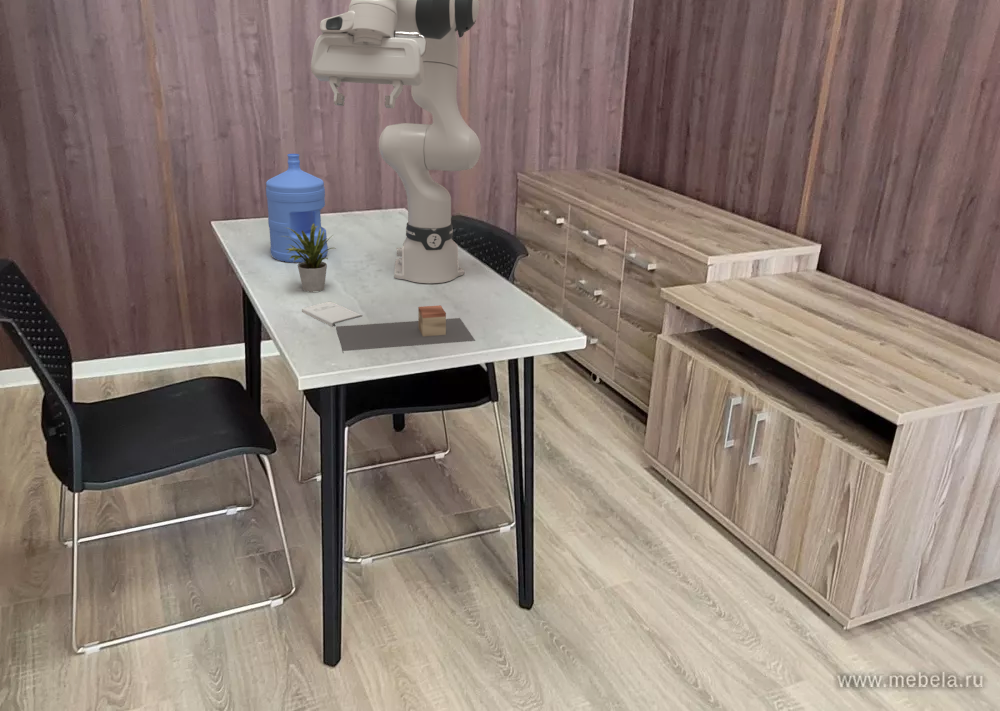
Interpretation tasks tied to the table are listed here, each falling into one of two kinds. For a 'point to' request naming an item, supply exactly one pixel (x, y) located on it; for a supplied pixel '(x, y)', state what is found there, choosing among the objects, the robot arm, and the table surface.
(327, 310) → the external hard drive
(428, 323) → the maple block
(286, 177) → the water jug
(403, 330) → the rubber mat
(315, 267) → the house plant
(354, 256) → the table surface
